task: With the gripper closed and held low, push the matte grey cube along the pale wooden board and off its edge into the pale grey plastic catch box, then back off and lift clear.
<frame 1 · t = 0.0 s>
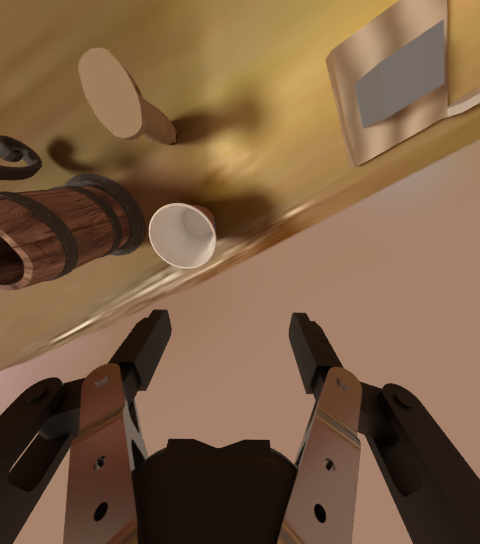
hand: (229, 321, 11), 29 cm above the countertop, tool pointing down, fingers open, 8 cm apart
matte grey cube: (382, 91, 26), point 2 cm above the countertop, touching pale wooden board
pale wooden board: (383, 91, 27), on the countertop
tankard: (91, 204, 36), on the countertop
handle: (169, 134, 30), on the countertop
coffee cup: (199, 222, 37), on the countertop
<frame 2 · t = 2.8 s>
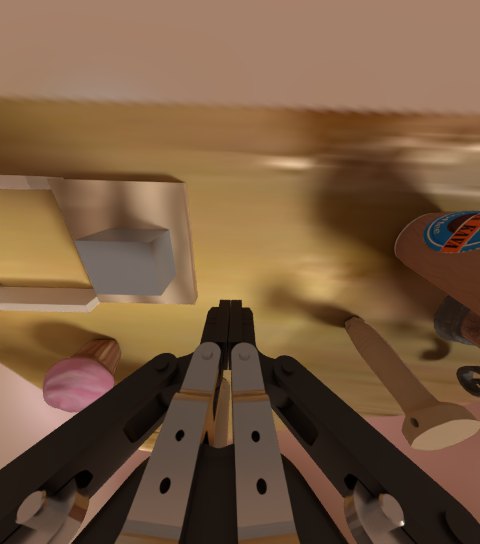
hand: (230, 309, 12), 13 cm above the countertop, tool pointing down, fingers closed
cupcake: (110, 345, 33), on the countertop
catch box: (30, 244, 23), on the countertop
matte grey cube: (145, 252, 22), point 2 cm above the countertop, touching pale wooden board
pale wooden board: (141, 247, 24), on the countertop
tankard: (477, 320, 30), on the countertop
handle: (352, 322, 30), on the countertop
coffee cup: (419, 238, 23), on the countertop
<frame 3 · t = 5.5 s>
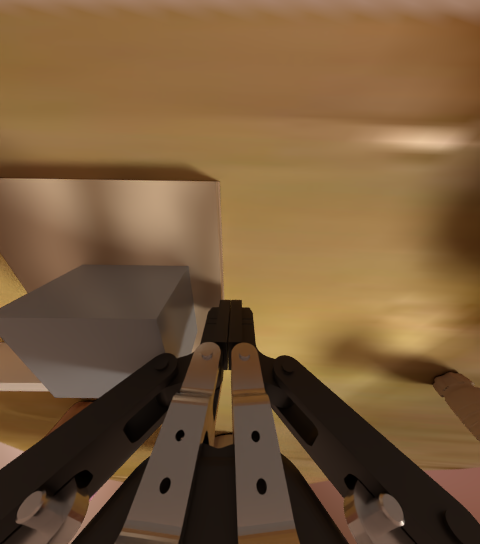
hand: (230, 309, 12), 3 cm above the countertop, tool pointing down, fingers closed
cupcake: (101, 405, 24), on the countertop
matte grey cube: (146, 301, 13), point 2 cm above the countertop, touching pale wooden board, gripper
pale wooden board: (141, 286, 15), on the countertop
handle: (443, 377, 21), on the countertop
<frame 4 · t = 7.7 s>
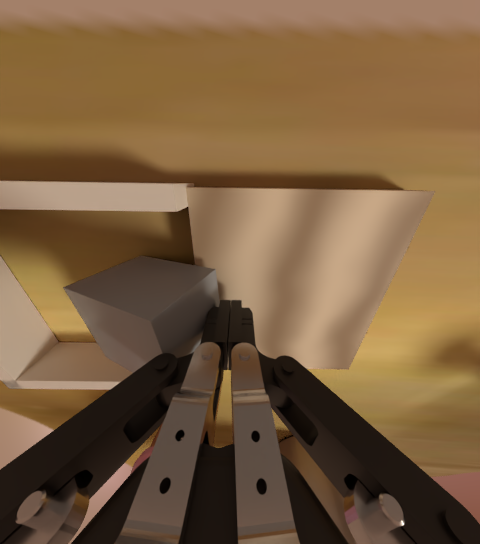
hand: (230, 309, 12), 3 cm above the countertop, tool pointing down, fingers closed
catch box: (112, 287, 15), on the countertop
matte grey cube: (182, 295, 14), point 1 cm above the countertop, tilted 25°, touching gripper
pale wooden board: (284, 289, 15), on the countertop
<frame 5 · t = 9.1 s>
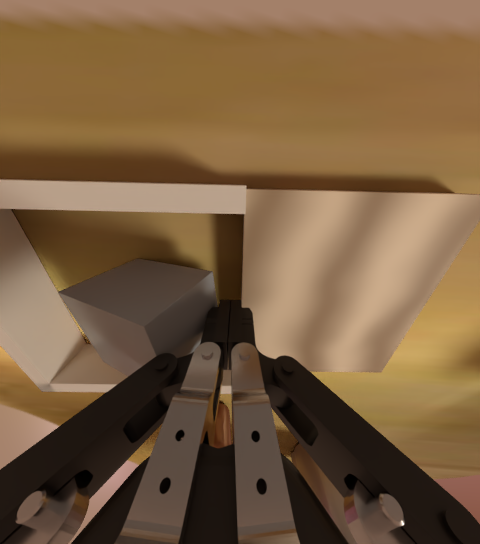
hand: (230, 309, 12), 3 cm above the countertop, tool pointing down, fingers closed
cupcake: (211, 407, 24), on the countertop
catch box: (148, 289, 15), on the countertop
matte grey cube: (180, 298, 14), point 1 cm above the countertop, tilted 25°, touching gripper, hand
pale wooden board: (321, 292, 15), on the countertop
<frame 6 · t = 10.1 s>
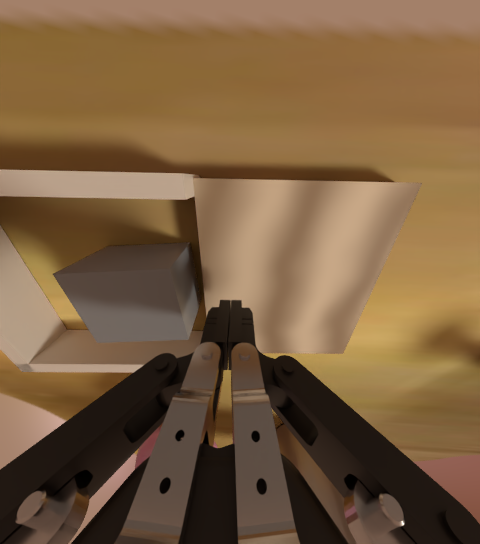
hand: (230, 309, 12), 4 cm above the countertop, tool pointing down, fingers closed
cupcake: (192, 392, 26), on the countertop
catch box: (120, 275, 16), on the countertop
matte grey cube: (159, 274, 16), on the countertop
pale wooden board: (283, 277, 16), on the countertop
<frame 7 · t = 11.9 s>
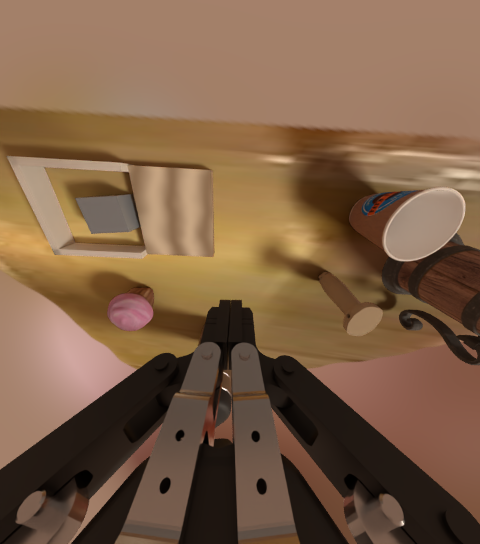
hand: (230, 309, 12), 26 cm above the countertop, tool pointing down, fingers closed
cupcake: (145, 293, 44), on the countertop
catch box: (102, 210, 34), on the countertop
matte grey cube: (120, 211, 34), on the countertop
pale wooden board: (178, 214, 35), on the countertop
tankard: (412, 276, 42), on the countertop
handle: (324, 276, 42), on the countertop
coffee cup: (365, 213, 35), on the countertop
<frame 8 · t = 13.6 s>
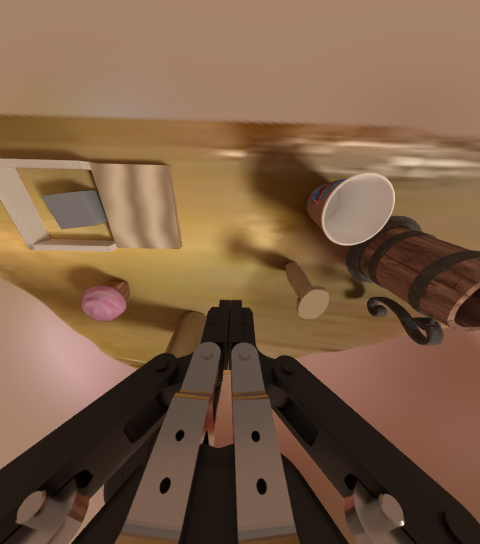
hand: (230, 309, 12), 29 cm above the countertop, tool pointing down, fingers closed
cupcake: (122, 287, 46), on the countertop
catch box: (72, 207, 36), on the countertop
matte grey cube: (90, 207, 37), on the countertop
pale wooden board: (144, 209, 37), on the countertop
tankard: (377, 264, 43), on the countertop
handle: (290, 266, 43), on the countertop
coffee cup: (322, 203, 36), on the countertop
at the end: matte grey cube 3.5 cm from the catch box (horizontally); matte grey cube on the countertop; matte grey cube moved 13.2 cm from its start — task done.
